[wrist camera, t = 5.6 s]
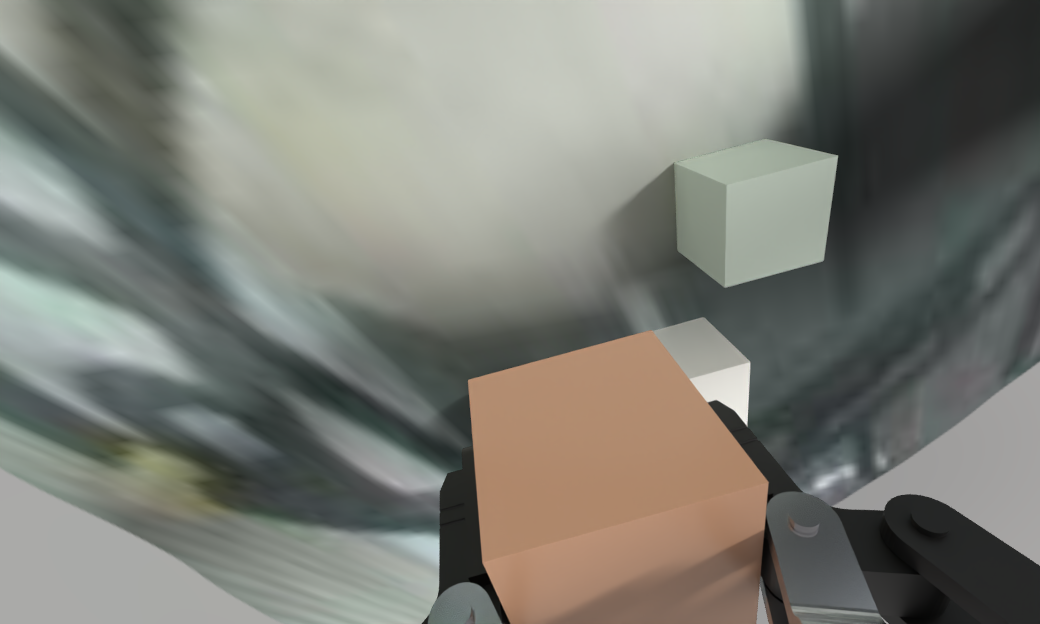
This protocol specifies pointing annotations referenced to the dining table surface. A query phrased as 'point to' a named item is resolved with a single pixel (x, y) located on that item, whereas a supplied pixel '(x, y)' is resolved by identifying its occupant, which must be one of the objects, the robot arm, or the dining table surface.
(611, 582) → the terracotta block
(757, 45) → the dining table surface
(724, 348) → the cream block
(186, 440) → the dining table surface
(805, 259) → the sage block
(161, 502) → the dining table surface
